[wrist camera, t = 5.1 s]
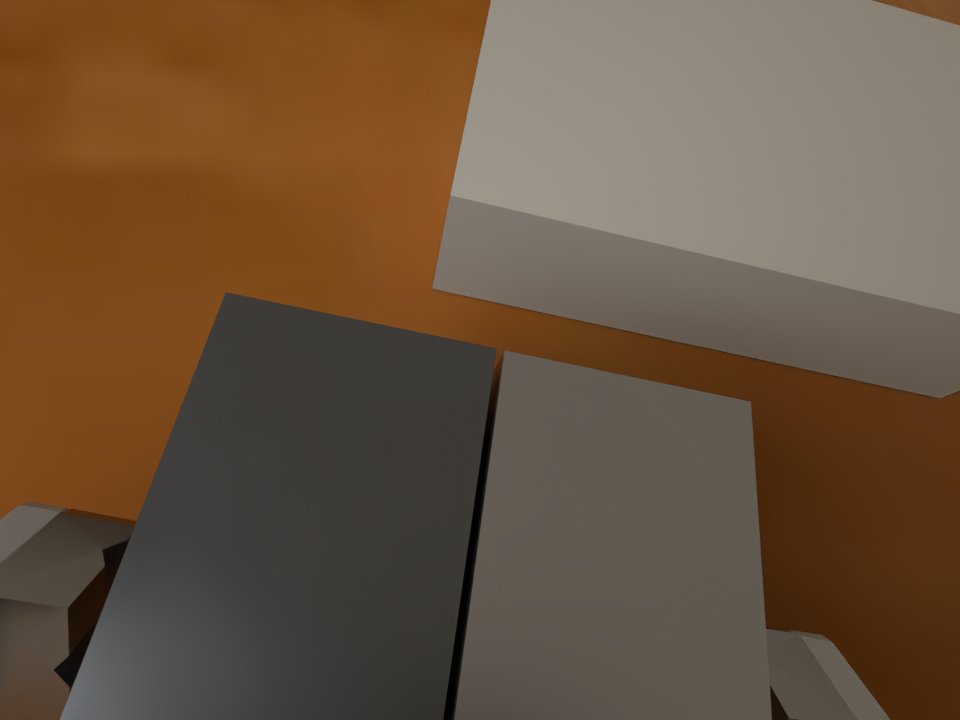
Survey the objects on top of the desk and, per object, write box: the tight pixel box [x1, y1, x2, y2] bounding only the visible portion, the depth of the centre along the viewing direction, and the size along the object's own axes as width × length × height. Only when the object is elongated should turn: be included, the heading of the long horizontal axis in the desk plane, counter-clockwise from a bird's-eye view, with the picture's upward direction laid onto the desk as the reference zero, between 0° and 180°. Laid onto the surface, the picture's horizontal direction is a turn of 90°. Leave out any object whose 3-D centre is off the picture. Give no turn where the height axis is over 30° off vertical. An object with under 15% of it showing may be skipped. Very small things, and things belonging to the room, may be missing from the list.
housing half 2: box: [60, 293, 496, 720], centre depth 9 cm, size 3×5×8 cm, turn 172°
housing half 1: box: [443, 351, 772, 720], centre depth 10 cm, size 3×5×8 cm, turn 172°
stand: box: [432, 0, 960, 398], centre depth 18 cm, size 16×12×4 cm
